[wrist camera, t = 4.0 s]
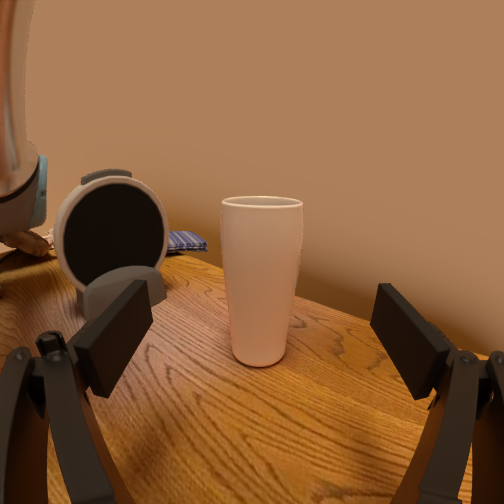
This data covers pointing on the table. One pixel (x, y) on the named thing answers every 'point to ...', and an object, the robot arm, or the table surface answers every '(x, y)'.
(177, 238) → the dish towel
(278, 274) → the drinking glass
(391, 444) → the table surface
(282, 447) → the table surface
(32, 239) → the baking tray
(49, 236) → the figurine
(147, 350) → the table surface
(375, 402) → the table surface
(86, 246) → the alarm clock
